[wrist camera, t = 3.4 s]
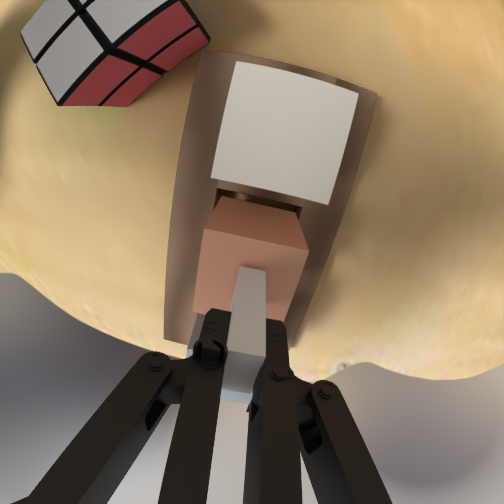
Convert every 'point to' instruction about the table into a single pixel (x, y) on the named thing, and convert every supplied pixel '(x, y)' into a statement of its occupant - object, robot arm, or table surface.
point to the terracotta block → (249, 255)
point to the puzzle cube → (109, 47)
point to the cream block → (283, 132)
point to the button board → (245, 192)
